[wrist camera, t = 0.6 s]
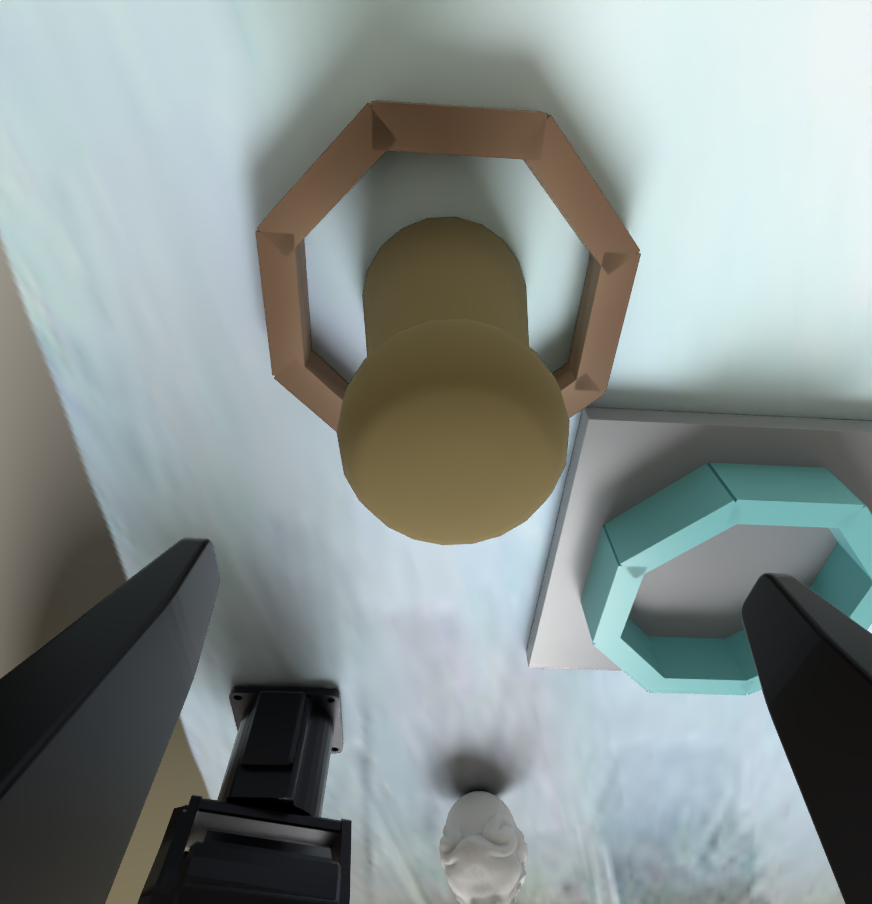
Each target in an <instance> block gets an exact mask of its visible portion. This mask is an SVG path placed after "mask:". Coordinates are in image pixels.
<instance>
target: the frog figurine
mask: <svg viewBox="0 0 872 904" xmlns="http://www.w3.org/2000/svg"><path fill="white" fill-rule="evenodd" d="M443 834H444V836H443V837H442V838H441V839H440V859H441V863H442V865H443V867H444V868H445V874H446V878H447V881H448V883H449V885H450V886H451V889H452V890H453V891H454V893H455V897H456V899H457V900H458V901H459V902H460V903H461V904H517V902H516V901H517V899H516V896H517V894H518V892H519V891H520V890H521V886H522V884H523V882H524V880H525V877H526V872H525V870H524V868H525V866H524V865H523V863H524V862H525V860H526V858H527V854H528V852H527V845H526V843H525V842H524V836H523V834H522V832H521V831H520V830H519V829H518V828H517V826H516V824H515V821H514V819H513V816H512V814H511V812H510V810H509V809H508V807H507V806H506V805H505V803H504V802H503V801H502V800H500V799H499V798H498V797H497V796H495V795H493V794H491V793H488V792H484V791H474V792H470V793H467V794H466V795H464V796H462V797H461V798H460V799H458V800H457V801H456V802H455V804H454V805H453V807H452V808H451V810H450V812H449V814H448V817H447V821H446V825H445V826H444V830H443Z"/></svg>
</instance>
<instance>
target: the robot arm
mask: <svg viewBox="0 0 872 904" xmlns="http://www.w3.org/2000/svg"><path fill="white" fill-rule="evenodd" d="M219 580H220V577H219V570H218V565H217V561H216V556H215V551H214V547H213V544H212V542H211V541H210V540H209V539H204V538H183V539H181V540H180V541H178V542H177V543H176V544H174V545H173V546H172V547H170V548H169V549H168V550H166V551H165V552H164V553H163V554H161V555H160V556H159V557H157V558H156V559H155V560H154V561H152V562H151V563H150V564H148V565H147V566H146V567H144V568H143V569H142V570H141V571H139V572H138V573H137V574H135V575H134V576H133V577H132V578H130V579H129V580H128V581H126V582H125V583H124V584H122V585H121V586H120V587H119V588H117V589H116V590H115V591H113V592H112V593H111V594H110V595H108V596H107V597H106V598H104V599H103V600H102V601H100V602H99V603H98V604H97V605H95V606H94V607H93V608H92V609H90V610H89V611H88V612H86V613H85V614H84V615H82V616H81V617H80V618H78V619H77V620H76V621H75V622H73V623H72V624H71V625H69V626H68V627H67V628H65V629H64V630H63V631H62V632H60V633H59V634H58V635H57V636H55V637H54V638H53V639H51V640H50V641H49V642H47V643H46V644H45V645H43V646H42V647H41V648H40V649H38V650H37V651H36V652H34V653H33V654H32V655H31V656H29V657H28V658H27V659H25V660H24V661H23V662H22V663H20V664H19V665H18V666H16V667H15V668H14V669H12V670H11V671H10V672H9V673H7V674H6V675H5V676H3V677H2V678H1V679H0V904H105V902H106V900H107V897H108V895H109V892H110V890H111V887H112V885H113V882H114V879H115V877H116V875H117V872H118V869H119V867H120V864H121V862H122V859H123V857H124V854H125V852H126V849H127V846H128V844H129V842H130V839H131V837H132V834H133V832H134V829H135V827H136V824H137V821H138V819H139V816H140V814H141V811H142V809H143V806H144V804H145V801H146V799H147V796H148V793H149V791H150V789H151V786H152V783H153V781H154V778H155V776H156V773H157V771H158V768H159V766H160V763H161V761H162V758H163V756H164V753H165V750H166V748H167V746H168V743H169V740H170V738H171V735H172V733H173V730H174V728H175V725H176V723H177V720H178V718H179V715H180V713H181V710H182V708H183V705H184V702H185V700H186V697H187V695H188V692H189V690H190V687H191V684H192V681H193V679H194V675H195V672H196V669H197V665H198V662H199V658H200V654H201V651H202V647H203V643H204V640H205V636H206V632H207V629H208V625H209V621H210V617H211V614H212V610H213V606H214V603H215V599H216V595H217V592H218V587H219ZM741 617H742V621H743V625H744V628H745V632H746V635H747V639H748V642H749V646H750V649H751V653H752V656H753V660H754V663H755V667H756V670H757V674H758V677H759V681H760V684H761V688H762V691H763V695H764V698H765V701H766V704H767V707H768V710H769V712H770V715H771V718H772V721H773V723H774V726H775V728H776V731H777V733H778V736H779V738H780V741H781V743H782V746H783V748H784V751H785V753H786V756H787V758H788V761H789V763H790V766H791V768H792V771H793V773H794V776H795V778H796V781H797V783H798V786H799V788H800V791H801V793H802V796H803V799H804V801H805V804H806V806H807V809H808V811H809V814H810V816H811V819H812V821H813V824H814V826H815V829H816V831H817V834H818V836H819V839H820V841H821V844H822V846H823V849H824V851H825V854H826V856H827V859H828V861H829V864H830V866H831V869H832V871H833V874H834V876H835V879H836V881H837V884H838V886H839V889H840V891H841V894H842V896H843V899H844V901H845V904H872V634H871V633H870V632H869V631H867V630H866V629H865V628H863V627H862V626H860V625H859V624H858V623H856V622H855V621H854V620H852V619H851V618H850V617H848V616H847V615H845V614H844V613H843V612H841V611H840V610H839V609H837V608H836V607H834V606H833V605H832V604H830V603H829V602H828V601H826V600H825V599H824V598H822V597H821V596H819V595H818V594H817V593H815V592H814V591H813V590H811V589H810V588H809V587H807V586H806V585H804V584H803V583H802V582H800V581H799V580H798V579H796V578H795V577H793V576H791V575H788V574H780V573H764V574H762V575H761V576H760V577H759V578H758V579H757V581H756V583H755V584H754V586H753V588H752V589H751V591H750V592H749V594H748V596H747V597H746V599H745V601H744V602H743V604H742V608H741ZM229 698H230V702H231V706H232V710H233V714H234V718H235V722H236V726H237V730H238V733H237V737H236V740H235V743H234V747H233V750H232V753H231V756H230V760H229V763H228V766H227V770H226V773H225V776H224V780H223V783H222V786H221V790H220V793H219V796H218V800H210V799H204V798H202V796H198V795H192V796H191V799H190V802H189V805H185V806H182V807H178V808H174V810H173V813H172V816H171V818H170V821H169V824H168V827H167V830H166V832H165V835H164V838H163V841H162V843H161V846H160V848H159V851H158V854H157V856H156V858H155V861H154V863H153V866H152V868H151V871H150V873H149V875H148V878H147V880H146V883H145V885H144V888H143V890H142V893H141V896H140V898H139V901H138V904H349V901H350V864H351V820H346V819H341V821H340V820H334V819H328V818H321V813H322V806H323V800H324V793H325V787H326V780H327V774H328V767H329V760H330V754H331V753H332V754H336V753H340V752H342V749H343V732H342V717H341V702H340V693H339V692H338V691H337V690H333V689H307V688H271V687H234V688H232V689H231V692H230V695H229ZM187 847H190V849H189V852H187V851H186V849H187Z"/></svg>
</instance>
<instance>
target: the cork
mask: <svg viewBox="0 0 872 904" xmlns="http://www.w3.org/2000/svg"><path fill="white" fill-rule="evenodd" d="M363 308H364V321H365V334H366V348H367V358H366V359H365V360H364V361H363V363H362V364H361V366H360V368H359V369H358V371H357V372H356V374H355V375H354V377H353V379H352V380H351V382H350V383H349V385H348V387H347V389H346V392H345V395H344V398H343V402H342V407H341V412H340V417H339V422H338V427H337V437H338V442H339V448H340V454H341V460H342V465H343V471H344V475H345V477H346V479H347V480H348V482H349V484H350V485H351V487H352V489H353V491H354V492H355V494H356V496H357V497H358V499H359V501H360V502H361V503H362V504H363V505H364V506H365V507H366V508H367V509H368V510H369V511H371V512H372V513H373V514H374V515H375V516H376V517H377V518H378V519H380V520H381V521H382V522H383V523H384V524H385V525H386V526H387V527H389V528H391V529H393V530H395V531H397V532H400V533H402V534H404V535H406V536H408V537H410V538H412V539H415V540H420V541H425V542H430V543H435V544H440V545H455V544H473V543H477V542H480V541H484V540H487V539H491V538H495V537H498V536H501V535H503V534H505V533H506V532H508V531H510V530H512V529H513V528H515V527H517V526H518V525H520V524H522V523H524V522H525V521H527V519H528V518H529V517H530V516H531V515H532V514H533V513H534V512H535V511H536V510H537V509H538V508H539V507H540V506H541V505H542V504H543V503H544V502H545V501H546V500H547V498H548V497H549V496H550V494H551V493H552V492H553V490H554V488H555V486H556V484H557V482H558V480H559V477H560V475H561V473H562V471H563V469H564V467H565V465H566V456H567V446H568V436H569V418H568V414H567V411H566V407H565V403H564V400H563V396H562V393H561V390H560V387H559V385H558V383H557V381H556V379H555V377H554V376H553V375H552V373H551V372H550V371H549V369H548V368H547V367H546V365H545V364H544V363H543V361H542V360H541V359H540V357H539V356H538V355H537V353H536V352H535V351H534V350H532V349H531V348H529V337H528V315H527V294H526V285H525V281H524V278H523V274H522V271H521V268H520V264H519V262H518V260H517V259H516V257H515V256H514V254H513V253H512V252H511V250H510V249H509V247H508V246H507V245H506V243H505V242H504V240H502V239H501V238H499V237H498V236H497V235H495V234H494V233H493V232H491V231H490V230H488V229H487V228H486V227H484V226H483V225H481V224H478V223H474V222H471V221H467V220H464V219H460V218H457V217H445V218H427V219H425V220H422V221H420V222H417V223H415V224H412V225H410V226H407V227H405V228H403V229H401V230H400V231H399V232H397V233H396V234H395V235H394V236H393V237H392V238H391V239H389V240H388V241H387V242H386V243H385V244H384V245H383V246H381V248H380V249H379V251H378V253H377V255H376V256H375V258H374V260H373V262H372V263H371V265H370V267H369V269H368V271H367V276H366V281H365V286H364V291H363Z"/></svg>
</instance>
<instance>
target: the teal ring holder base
mask: <svg viewBox="0 0 872 904" xmlns="http://www.w3.org/2000/svg"><path fill="white" fill-rule="evenodd" d="M764 573H780V574H788V575H791V576H793V577H795V578H796V579H798V580H799V581H800V582H802V583H803V584H804V585H806V586H807V587H809V588H810V589H811V590H813V591H814V592H815V593H817V594H818V595H819V596H821V597H822V598H824V599H825V600H826V601H828V602H829V603H830V604H832V605H833V606H834V607H836V608H837V609H839V610H840V611H841V612H843V613H844V614H845V615H847V616H848V617H850V618H851V619H852V620H854V621H855V622H856V623H858V624H859V625H860V626H862V627H863V628H865V629H866V630H867V629H868V628H869V626H870V625H871V624H872V421H863V420H842V419H821V418H800V417H779V416H758V415H737V414H716V413H695V412H674V411H653V410H632V409H611V408H590V407H585V408H583V410H582V415H581V419H580V423H579V427H578V432H577V436H576V440H575V445H574V449H573V453H572V458H571V462H570V466H569V470H568V475H567V479H566V483H565V488H564V492H563V496H562V501H561V505H560V509H559V513H558V518H557V522H556V526H555V531H554V535H553V539H552V543H551V548H550V552H549V556H548V561H547V565H546V569H545V574H544V578H543V582H542V586H541V591H540V595H539V599H538V604H537V608H536V612H535V617H534V621H533V625H532V629H531V634H530V638H529V642H528V647H527V651H526V655H527V661H528V667H529V668H552V669H586V670H619V671H624V672H625V673H626V674H627V675H628V676H630V677H631V678H632V679H633V680H634V681H635V682H637V683H638V684H639V685H640V686H641V687H642V688H643V689H645V690H646V691H647V692H648V691H649V692H651V693H686V694H722V695H746V694H748V695H749V694H751V693H754V692H756V691H759V690H761V689H762V688H761V684H760V681H759V677H758V674H757V670H756V667H755V663H754V660H753V656H752V653H751V649H750V646H749V642H748V639H747V635H746V632H745V628H744V625H743V621H742V617H741V608H742V604H743V602H744V601H745V599H746V597H747V596H748V594H749V592H750V591H751V589H752V588H753V586H754V584H755V583H756V581H757V579H758V578H759V577H760V576H761V575H762V574H764Z"/></svg>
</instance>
